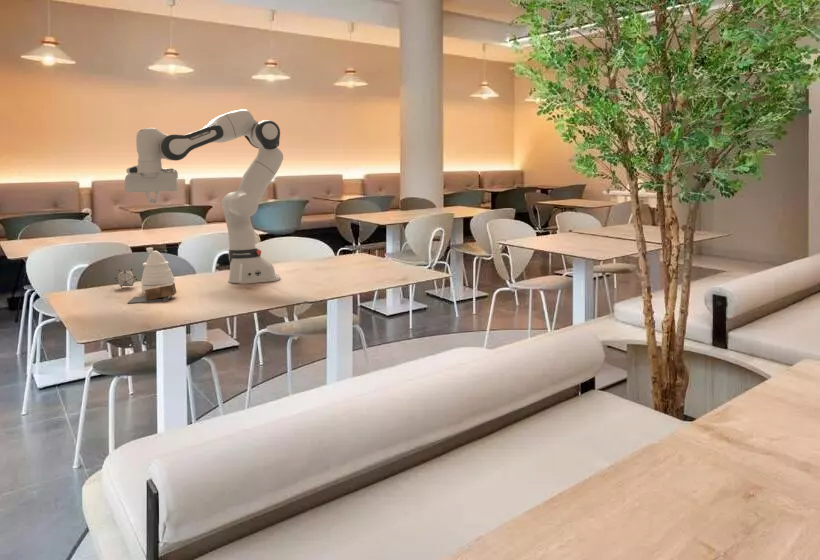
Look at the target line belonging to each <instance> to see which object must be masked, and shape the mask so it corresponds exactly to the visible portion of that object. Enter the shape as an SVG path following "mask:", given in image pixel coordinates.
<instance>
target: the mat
mask: <svg viewBox="0 0 820 560" xmlns="http://www.w3.org/2000/svg"><path fill="white" fill-rule="evenodd" d="M163 299H164V297H161V298H156V299H150V300H147V298H146V295H141V296H133V297H132V298H131V299H130V300H128V301H127V305H128V304H145V303H156V302H158V303H159V302H163V301H164V300H163Z"/></svg>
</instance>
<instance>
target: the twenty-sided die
mask: <svg viewBox="0 0 820 560" xmlns="http://www.w3.org/2000/svg"><path fill="white" fill-rule="evenodd" d="M114 279H115V280H116V282H117V283H118V285H119V286H120V287H121V288H123V287H122V286H133V287H134V283H135V282H136V280H138V278H137V276H135V275H134V273H133V268H131V269H129V270H120V269H118V274H117V276H116V277H114Z"/></svg>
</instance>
